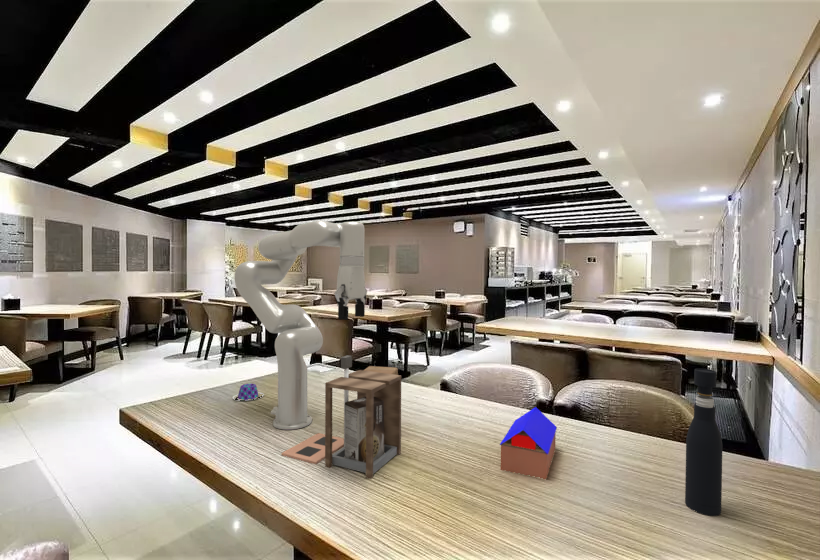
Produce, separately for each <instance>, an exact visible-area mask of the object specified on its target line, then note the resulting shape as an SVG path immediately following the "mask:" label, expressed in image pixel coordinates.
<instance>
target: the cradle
mask: <svg viewBox="0 0 820 560" xmlns="http://www.w3.org/2000/svg"><path fill="white" fill-rule="evenodd" d="M352 367H353V355H345V356H341V357H340V369H343V370H344V371H343V372H344V373H343V377H346V378H349V374H350V372H349V370H350V369H349V368H352ZM349 392H350V391H349V390H343V404H344V405H343V438H344V447H342V448H340V449H339V450H337V451H336V452H334V453H333V454H332V466H333V465H334V466H337V467H341V468H346V469H350V470H354V471H358V472H361V473H364V474H366V463H365V462H360V461H356V460H352V459H348V458H345V402H348V401H349ZM396 455H398V454H397V447H395V446H390V445H386V444H384V454H383V455H382V456H381V457H380V458H378V459H377V460H376V461H375V462H373V475H374V474H375V473H376V472H378V471H379V469H381V468H382V467H383V466H384V465H386V464H387V463H388V462H389V461H390V460H392V459H393V458H394V457H395V456H396Z"/></svg>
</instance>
